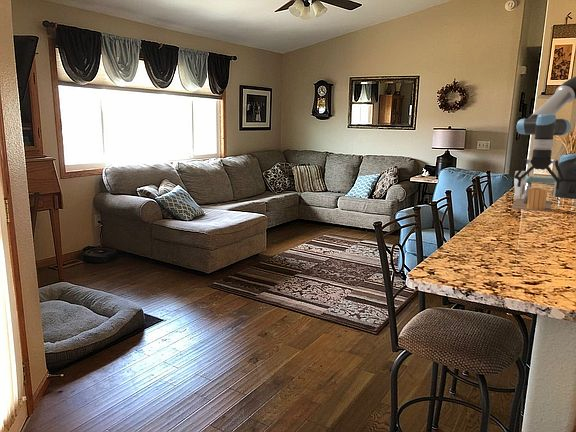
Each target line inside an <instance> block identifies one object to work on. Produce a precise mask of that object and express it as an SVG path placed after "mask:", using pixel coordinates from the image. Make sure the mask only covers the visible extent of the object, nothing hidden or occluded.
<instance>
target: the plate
mask: <svg viewBox="0 0 576 432" xmlns="http://www.w3.org/2000/svg"><path fill="white" fill-rule="evenodd" d="M514 200H515V201H514V202H513V204H512V205H511V207H510V209H513V210H526V211H535V212H536V211H538V212H545V213H546V212H548V213H551V209H552V205H553V204H552V203H553V201H551V200H546V207H545V209H542V210H538V209H530V208H527V203H523V202H524V199H514Z"/></svg>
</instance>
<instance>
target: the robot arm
mask: <svg viewBox="0 0 576 432" xmlns="http://www.w3.org/2000/svg"><path fill="white" fill-rule="evenodd" d="M574 100H576V75H575V76H573V77H572V78H570V79H567V80H566V81H564V82H563V83H562V84H561V85H559V86H558V87H557V88H556V89H555V91H554V94H552V96H550V97H549V98H548V99H546V101H545V102H544V103H543V104H542V105H541V106H539V108H537V109H536V110H535V111H534V112H533V113H532V114H531V115H530V116H529V117H527V118H521V119H519V120H518V121H517V123H516V132H517V133H518V134H519V135H524V136H525V135H527V136H528V135H529V136H530V135H531V136H534V139H533V149H532V153H531V154H532V156H531V159H527V158H525V159H523V163H522V165H521V167H520V168H519V169H518V170H517V171H518V172H517V174H516V175H515V174H514V177H513V178H516V179H518V187H520V194H522V187H523V180H522V178H523V177H525V176H526V175H527V174H528V173H529V174H530V173H531V172H532V171H533V170H543V171H545V170H546V171H547V172H548V173H549V174H550V176H551V178H554V179H555V180H556V182H555V183H553V184H554V186H553V189H552V191H551V196H552V197H553V198H555V197H558V198H565V199H566V198H567V199H576V153H570V154H562V155H561V156H560V157H559V160H558V159H555V160H552V159H551V158H552V154H553V153H552V151H553V150H552V148H553V145H554V144H553V143H554V136H564V135H566V134H567V133H568V134H569V132H570V130H571V123H570V121H569V120H568V119H565V118H557V116H556V114H558V112H559V111H560V110H561V109H563V107H565V106H566V105H567V104H568V103H571V102H572V101H574ZM529 163H530V164H531V166H530V168H528V169H527V170H525V171H526V172H525V173H524V174H523V175H522V176H520V177H519V174H520V173H521V171H524V168H525V167H526V165H529ZM551 164H553V166H555V169H556V171H557V175H556V174H555V173H554V171H553V170H552V169H551V167H550V166H551Z"/></svg>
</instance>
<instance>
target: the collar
mask: <svg viewBox="0 0 576 432" xmlns="http://www.w3.org/2000/svg"><path fill="white" fill-rule="evenodd" d="M547 196H548V188H544V187H531V188H529V190H528V200H527V208H530V209H538V210H542V209H545V207H546V201H547V198H548V197H547Z"/></svg>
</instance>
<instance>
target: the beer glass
mask: <svg viewBox="0 0 576 432" xmlns="http://www.w3.org/2000/svg"><path fill="white" fill-rule="evenodd" d="M518 171H519V170H515V172H514V176H515V175H516V174H517V172H518ZM526 171H527V170H522V171H521V173H520V174H519V177H520V176H522V175H523V174H524V173H525V172H526ZM526 176H530V172H529V173H528V174H527V175H526ZM526 176H525V177H523V178H522V180H523V187H522V194H520V187H518V179H516V178H514V177H513V178H514V179H513V180H514V181H513V185H514V186H513V187H514V194H513V200H516V199H524V193H525V186H526V182H525V181H526Z"/></svg>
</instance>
